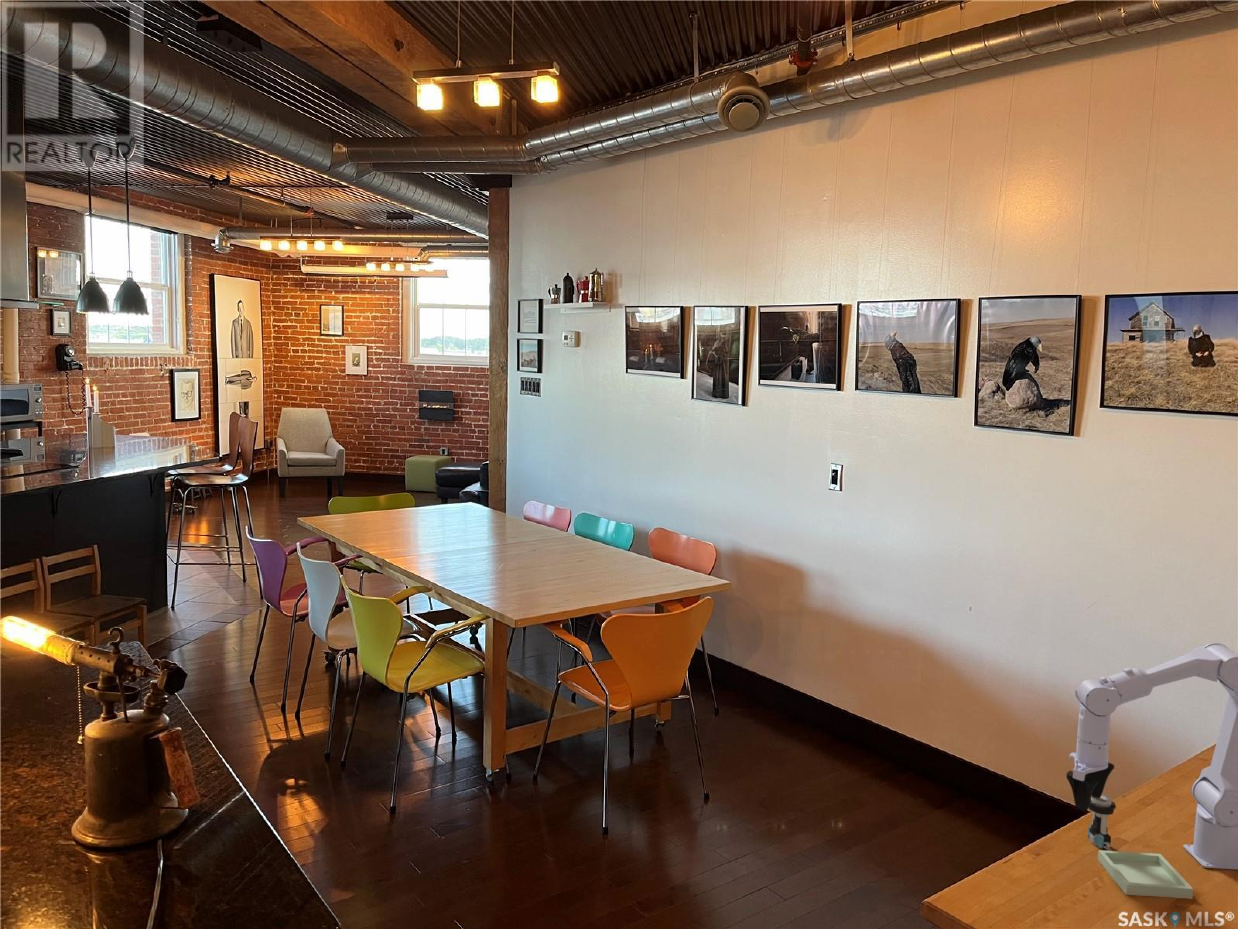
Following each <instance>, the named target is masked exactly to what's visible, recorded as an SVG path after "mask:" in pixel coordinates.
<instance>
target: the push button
mask: <svg viewBox="0 0 1238 929" xmlns="http://www.w3.org/2000/svg"><path fill="white" fill-rule="evenodd" d="M1116 808H1117V805H1116V803H1115V802H1114V801H1113V800H1112V798H1111V797H1109V796H1108V795H1105V794H1103V793H1102V795H1101V797H1100V798H1097V797H1094V796H1091V800H1090V804H1089V807H1088V809H1089V810H1090V811H1091V812H1092V820H1091V821H1092V822H1091V824H1090V825H1088V826H1087V827H1088V828H1087V838H1088V839H1089V842H1090V843H1091V844H1095V845H1096V846H1097V847H1098V848H1099V849H1106V851H1113V850H1112V849H1111V848H1112V847H1113V845H1112V844H1111V842H1112V836H1111V835H1110V834H1108V833H1109V832H1108V829H1109V828H1108V817H1109V815H1113V814H1114V811H1115V810H1116ZM1110 847H1111V848H1110Z"/></svg>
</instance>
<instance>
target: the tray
mask: <svg viewBox="0 0 1238 929" xmlns="http://www.w3.org/2000/svg"><path fill="white" fill-rule="evenodd" d="M1097 860H1098V862H1099V863H1100V864H1101V866H1102V867H1103V868H1104V869H1105V870H1106V872H1107V873H1108V874H1109V876H1111V878H1112V879H1113V881H1114V882H1115V883H1116V884H1117V885H1118V886H1119V888H1120V889H1121V890H1122V892H1123V893H1124V894H1125V895H1127V896H1128V895H1129V896H1142V897H1143V896H1144V897H1159V898H1172V899H1173V898H1174V899H1191V900H1192V899H1193V896H1194V888H1193V887H1192V885H1190V884H1189V882H1187V881H1186V880H1185V878H1184V877H1183V876H1181V874H1180V873H1179V872H1178V871H1177V870H1176V869H1175V868H1174V867H1173V866H1172V865H1171V864H1170V862H1169V861H1168V860H1166V858H1165V857H1164V856H1163V855H1162V854H1161V853H1151V852H1149V853H1148V852H1137V851H1135V852H1133V851H1117V850H1116V851H1115V850H1112V851H1108V850H1102V849H1100V850H1099V849H1098V852H1097Z"/></svg>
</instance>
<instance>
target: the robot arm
mask: <svg viewBox="0 0 1238 929" xmlns="http://www.w3.org/2000/svg"><path fill="white" fill-rule="evenodd" d="M1193 677H1197V678H1200V679H1203V680H1206V681H1207V680H1208V681H1211V682H1215V683H1218V681H1219V683H1220V685H1221V686H1222V687H1223V688H1224V689H1225V690H1226V692H1227V693H1228V698H1227V702H1226V706H1225V710H1224V714H1223V717H1222V720H1221V721H1222V722H1221V725H1220V729H1219V731H1218V732H1219V733H1218V736H1217V739H1216V744H1215V747H1214V751H1213V755H1212V759H1211V763H1210V765H1209V766H1207V767H1205V768H1202V769H1201V772H1200V775H1199V777H1198V779H1196V780H1195V781H1194V783H1193V785H1192V787H1191V795H1192V797H1193V799H1194V800H1195V801H1196V802H1197V803H1196V811H1195V812H1196V813H1195V822H1194V832H1193V833H1194V834H1193V842H1192V844H1183V848H1184V849H1185V850H1186V851H1187V852H1188V854H1190V855H1191V857H1193V858H1194V859H1195V861H1197V863H1199V864H1200V865H1201V866H1202V867H1203V868H1207V869H1224V870H1225V869H1226V870H1238V653H1237V652H1235V651H1233V649H1230V648H1228V647H1227V646H1226V645H1224V644H1222V643H1219V642H1212V643H1211V642H1210V643H1208V644H1207V643H1206V645H1204V646H1197V647H1195V648H1193V649H1192V650H1191V651H1189V652H1188V653H1186V654H1183V655H1181V656H1179V657H1176V658H1172V659H1171V660H1168V661H1166V662H1163V663H1161V664H1158V665H1156V666H1153V667H1151V668H1149V669H1146V670H1143V669H1142V670H1141V669H1139V668H1137V667H1133V668H1131V667H1129V666H1128V667H1125V668H1122V671H1120V672H1119V673H1115V674H1112V675H1109V676H1101V677H1099V680H1098V679H1093V678H1091V679H1089V678H1088V679H1085V680H1083V681H1082V682H1081V683H1080V684H1079V685H1078V686H1077V689H1075V691H1074V694H1075V697H1076V699H1077V700H1078V702H1079V709H1078V710H1079V711H1078V719H1077V733H1076V736H1077V737H1076V750H1075V752H1071V753H1070V754H1069V758H1070V759H1071V760H1073V761H1074V768H1073V769H1072V770H1069V771H1068V772H1066V774H1065V776H1066V779H1067V781H1068V783H1069V785H1070V788H1071V791H1072V794H1073V795H1072V796H1073V801H1074V806H1075V808H1077V809H1080V810H1083V811H1088V809H1089V808H1088V807H1089V804H1090V800H1091V796H1094V797H1097V798H1100V797H1101V795H1102V794H1103V793H1104V789H1105V786H1106V783H1107V781H1108V778H1109V776H1110V775H1111V773H1112V771H1113V770H1114V769H1115V764H1113V763H1111V762H1109V742H1110V741H1109V740H1110V727H1111V714H1113V713H1114V712H1115V710H1117V708H1118V706H1122V705H1123V704H1126V703H1129V702H1133V701H1135V700H1139V699H1141V698H1145V697H1148V696H1150V695H1151V693H1152V691H1153V689H1154V688H1155V687H1159V686H1163V685H1166V684H1170V683H1174V682H1178V681H1180V680H1181V681H1182V680H1184V679H1188V678H1193Z"/></svg>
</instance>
